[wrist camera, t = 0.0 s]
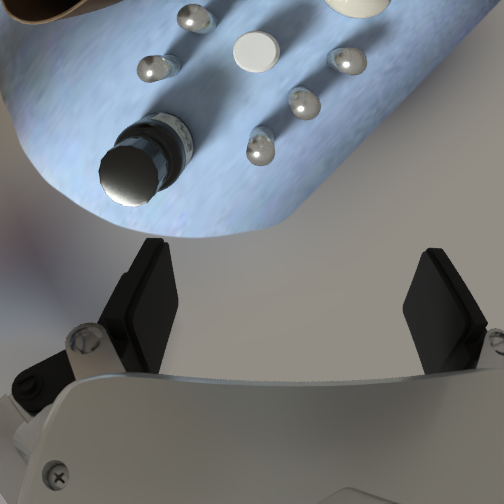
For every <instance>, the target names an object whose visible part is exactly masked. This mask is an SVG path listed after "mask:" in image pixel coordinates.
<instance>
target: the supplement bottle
mask: <svg viewBox="0 0 504 504" xmlns="http://www.w3.org/2000/svg"><path fill="white" fill-rule="evenodd" d="M233 56H234V59H235V61H236V63H237V64H238V65H239V66H240V67H241V68H242V69H244V70H246V71H248V72H253V73H261V72H265V71H268V70H270V69H271V68H272V67H274V66H275V64H276V63H277V62H278V60H279V57H280V47H279V44H278V42H277V41H276V39H275V38H274V37H273V36H271V35H270V34H268V33H266V32H263V31H250V32H247V33H245V34H243V35H242V36H240V37H239V38H238V39H237V41H236V42H235V44H234V47H233Z"/></svg>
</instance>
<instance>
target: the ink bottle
mask: <svg viewBox="0 0 504 504" xmlns="http://www.w3.org/2000/svg"><path fill="white" fill-rule="evenodd" d="M193 149H194V143H193V137H192V134H191V132H190V130H189V128H188V126H187V125H186V124H185V122H184V121H183V120H181V119H180V118H179V117H177V116H175V115H173V114H170V113H153V114H150V115H148V116H146V117H144V118H142V119H140V120H139V121H137V122H135V123H134V124H132V125H130V126H129V127H127V128H126V129H125V130H123V131H122V132H121V134H120V135H119V136H118V138H117V139H116V141H115V144H114V147H113V148H112V149H110V150H109V151H108V152H107V153H106V155H105V156H104V157H103V158H102V159H101V164H100V168H99V177H100V184H101V185H102V187H103V189H104V191H105V193H106V194H107V195H108V196H109V197H110V198H112V199H113V200H114V201H115V202H117V203H119V204H122V205H124V206H135V207H138V206H139V205H142V204H145V203H148V202H149V200H150V199H151V198H152V197H153V196H154V195H155V194H156V193H157V192H159V191H162V190H164V189H166V188H168V187H170V186H171V185H172V184H173V183H174V182H175V181H176V180H177V179H178V178H179V176H180V175H181V173H182V172H183V170H184V169H185V168H186V166H187V165H188V163H189V161H190V160H191V157H192V155H193Z"/></svg>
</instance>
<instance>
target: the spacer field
mask: <svg viewBox="0 0 504 504" xmlns="http://www.w3.org/2000/svg"><path fill="white" fill-rule="evenodd" d="M177 22H178V24H179V26H180V27H182V28H183V29H185V30H189V31H192V32H196V33H199V34H209V33H211V32H213V31H214V30H215V28H216V26H217V19H216V17H215V16H214V15H213V14H212V13H210V12H209V11H208V10H206V9H205V8H203V7H202V6H200V5H198V4H189V5H186V6H184V7H183V8H182V9H181V10H180V11H179V12H178V15H177ZM327 64H328V66H329V67H330V68H331V69H333V70H334V71H338V72H342V73H346V74H350V75H358V74H361V73H362V72H363V71H364V70H365V69H366V66H367V59H366V56H365V55H364V53H363V52H362V51H361V50H359V49H357V48H353V47H350V48H339V49H333V50H331V51H330V52H329V53H328V55H327ZM180 69H181V62H180V60H179V59H178V58H177V57H176V56H174V55H156V56H147V57H145V58H143V59H142V60H141V61H140V62H139V64H138V66H137V74H138V76H139V78H140V79H141V80H142V81H144V82H148V83H151V82H155V81H159V80H162V79H166V78H170V77H173V76H175V75H177V74H178V73H179V71H180ZM288 102H289V104H290V106H291V109H292V111H293V113H294V114H295V116H296V117H298V118H299V119H302V120H311V119H313V118H315V117H316V116H317V115H318V114H319V112H320V109H321V104H320V101H319V99H318V98H317V97H316V96H315V95H314V94H313V93H312V92H311V91H309V90H308V89H307V88H305V87H302V86H297V87H294V88H292V89H291V90H290V91H289V93H288ZM246 154H247V158H248V160H249V161H250V162H251V163H252V164H254V165H257V166H265V165H267V164H269V163H270V162H271V161H272V160H273V158H274V155H275V148H274V134H273V132H272V130H271V129H270V128H268V127H266V126H257V127H255V128H254V129H253V130H252V131H251V134H250V138H249V142H248V146H247V151H246Z"/></svg>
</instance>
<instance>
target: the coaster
mask: <svg viewBox="0 0 504 504" xmlns="http://www.w3.org/2000/svg"><path fill="white" fill-rule="evenodd" d="M324 1H325V3H326V4H327V5H328V6H329V7H331V8H332V9H333V10H335V11H336V12H338V13H340V14H342V15H344V16H347V17H351V18H368V17H372V16H375V15H377V14H379V13H380V12H382V11H383V10H384V9H385V8H386V7H387V5H388V3H389V1H390V0H324Z"/></svg>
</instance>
